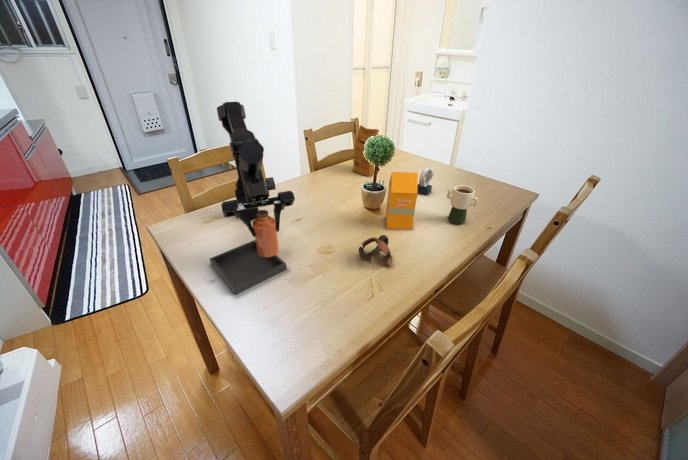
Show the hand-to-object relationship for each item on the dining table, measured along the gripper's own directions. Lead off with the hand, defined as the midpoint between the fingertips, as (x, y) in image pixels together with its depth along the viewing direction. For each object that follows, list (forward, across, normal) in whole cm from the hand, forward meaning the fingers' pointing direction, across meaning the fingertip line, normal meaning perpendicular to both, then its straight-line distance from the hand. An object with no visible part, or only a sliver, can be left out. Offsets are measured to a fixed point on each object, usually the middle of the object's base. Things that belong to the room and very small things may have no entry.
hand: (266, 234), depth 80 cm
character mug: (+8, +70, +11) cm, 71 cm away
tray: (+6, -6, +12) cm, 15 cm away
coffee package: (-31, +60, +51) cm, 84 cm away
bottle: (+4, 0, +6) cm, 7 cm away
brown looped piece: (+14, +31, +5) cm, 35 cm away
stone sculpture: (-10, +73, +29) cm, 79 cm away
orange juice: (+3, +48, +16) cm, 51 cm away
